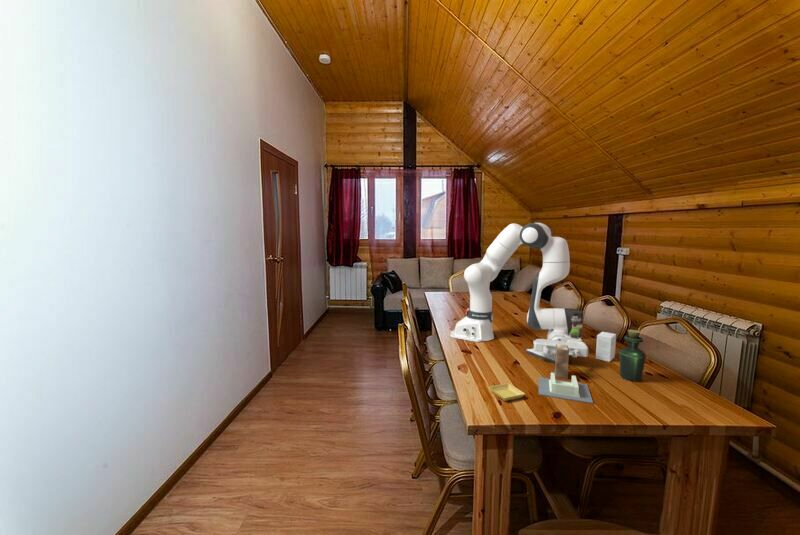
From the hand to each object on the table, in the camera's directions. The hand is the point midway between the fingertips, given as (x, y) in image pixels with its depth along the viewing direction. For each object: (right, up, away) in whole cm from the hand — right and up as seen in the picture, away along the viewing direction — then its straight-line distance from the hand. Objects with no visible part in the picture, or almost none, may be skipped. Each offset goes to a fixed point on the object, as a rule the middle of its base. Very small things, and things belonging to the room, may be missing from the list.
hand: (561, 353), depth 132 cm
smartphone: (+1, -6, +16) cm, 17 cm away
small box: (+26, -5, +13) cm, 29 cm away
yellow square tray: (-28, -9, -20) cm, 35 cm away
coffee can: (+26, -2, +43) cm, 51 cm away
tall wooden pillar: (-2, -7, -4) cm, 9 cm away
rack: (-7, -8, -16) cm, 20 cm away
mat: (-7, -8, -16) cm, 20 cm away
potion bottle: (+23, -8, -7) cm, 25 cm away
